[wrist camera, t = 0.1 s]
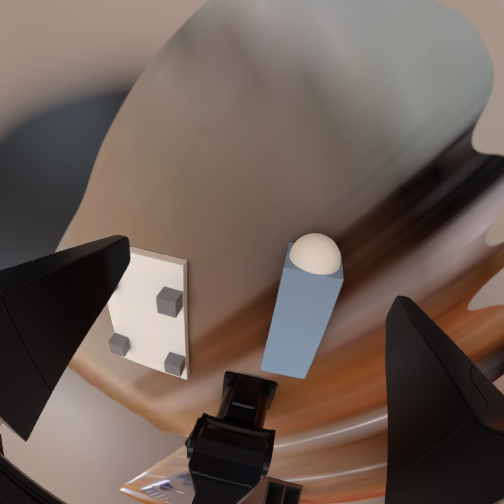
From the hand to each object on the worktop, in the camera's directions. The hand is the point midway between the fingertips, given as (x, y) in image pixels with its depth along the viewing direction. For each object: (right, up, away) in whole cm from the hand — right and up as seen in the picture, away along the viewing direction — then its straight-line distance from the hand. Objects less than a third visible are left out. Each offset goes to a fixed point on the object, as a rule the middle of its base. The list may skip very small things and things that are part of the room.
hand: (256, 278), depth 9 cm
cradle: (-12, -7, +23) cm, 27 cm away
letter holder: (+3, -60, +50) cm, 78 cm away
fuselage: (+4, -4, +18) cm, 19 cm away
